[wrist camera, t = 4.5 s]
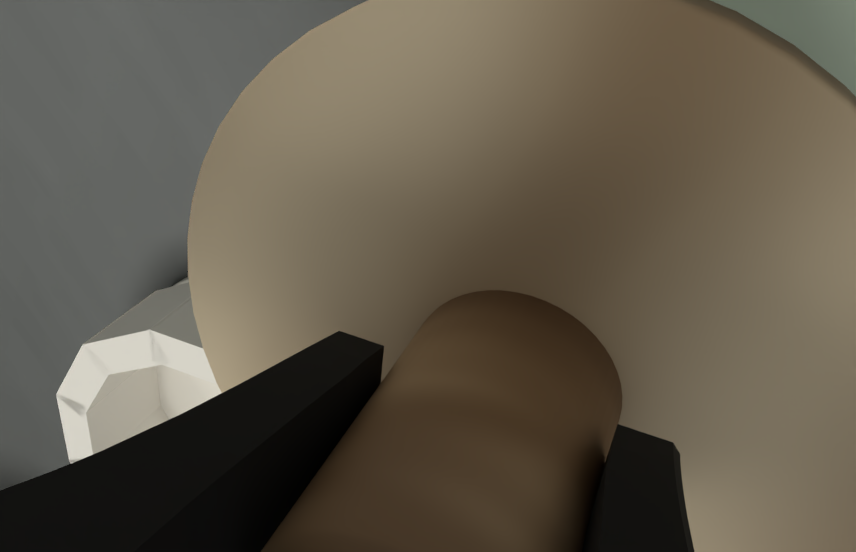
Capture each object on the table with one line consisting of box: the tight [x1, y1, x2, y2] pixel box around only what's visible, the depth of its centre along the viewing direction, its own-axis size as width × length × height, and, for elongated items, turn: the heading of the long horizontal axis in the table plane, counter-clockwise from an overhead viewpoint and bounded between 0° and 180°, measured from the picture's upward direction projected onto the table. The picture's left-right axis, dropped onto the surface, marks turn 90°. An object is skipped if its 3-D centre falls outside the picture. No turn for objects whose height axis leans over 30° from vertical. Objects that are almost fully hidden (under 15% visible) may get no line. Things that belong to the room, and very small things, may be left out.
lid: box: [187, 0, 856, 552], centre depth 9 cm, size 10×10×5 cm
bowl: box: [56, 277, 222, 463], centre depth 23 cm, size 10×10×4 cm
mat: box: [710, 0, 856, 97], centre depth 16 cm, size 10×10×1 cm
